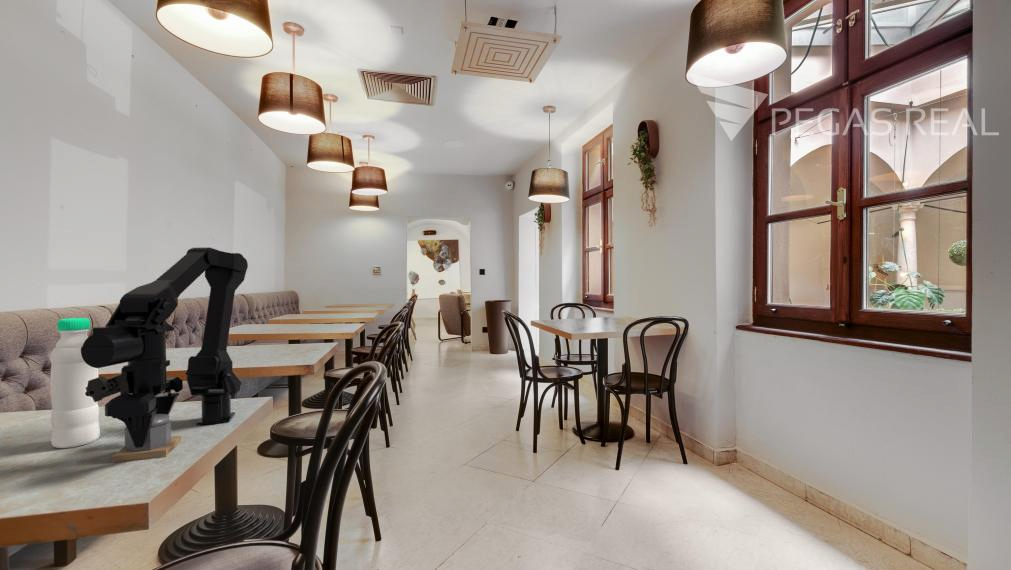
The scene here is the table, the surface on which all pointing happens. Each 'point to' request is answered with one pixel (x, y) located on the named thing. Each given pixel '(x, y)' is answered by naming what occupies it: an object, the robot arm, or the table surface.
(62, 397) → the water bottle
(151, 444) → the cap
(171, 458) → the table surface
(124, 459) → the stud block
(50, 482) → the table surface
